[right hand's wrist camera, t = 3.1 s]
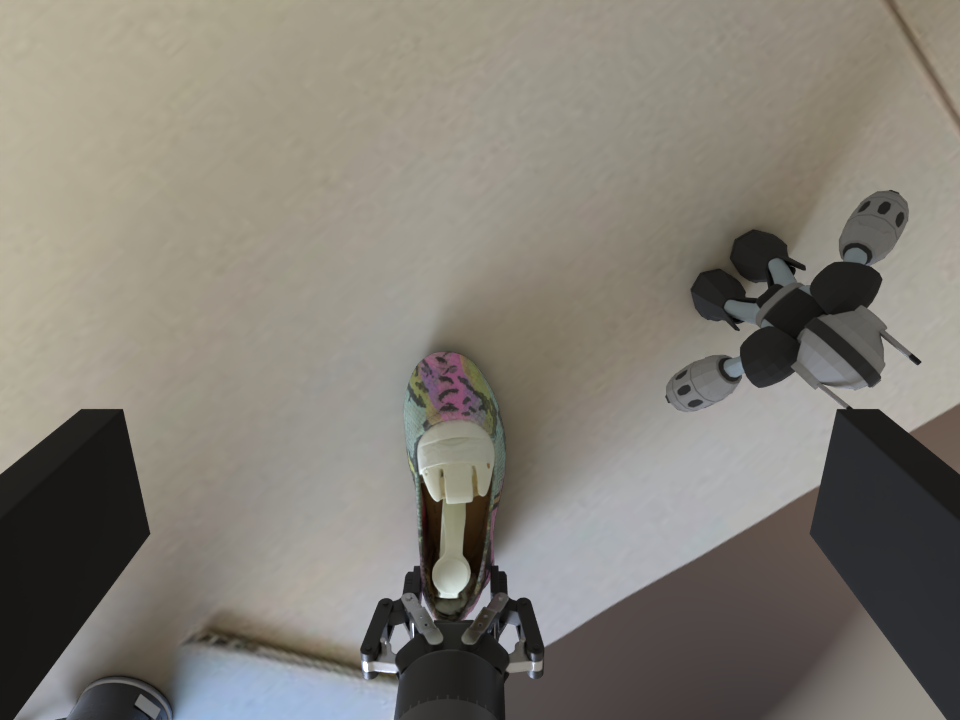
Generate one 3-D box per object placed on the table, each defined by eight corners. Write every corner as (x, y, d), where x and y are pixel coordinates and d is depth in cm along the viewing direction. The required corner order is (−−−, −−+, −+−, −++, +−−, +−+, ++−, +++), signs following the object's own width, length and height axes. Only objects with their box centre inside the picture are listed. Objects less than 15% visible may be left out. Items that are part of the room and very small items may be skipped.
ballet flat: (506, 344, 55) (511, 388, 47) (503, 583, 64) (507, 654, 56) (403, 345, 55) (391, 388, 47) (414, 584, 64) (406, 654, 56)
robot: (817, 155, 50) (1019, 196, 31) (857, 200, 51) (1075, 265, 32) (623, 343, 55) (696, 473, 36) (664, 379, 56) (755, 523, 38)
